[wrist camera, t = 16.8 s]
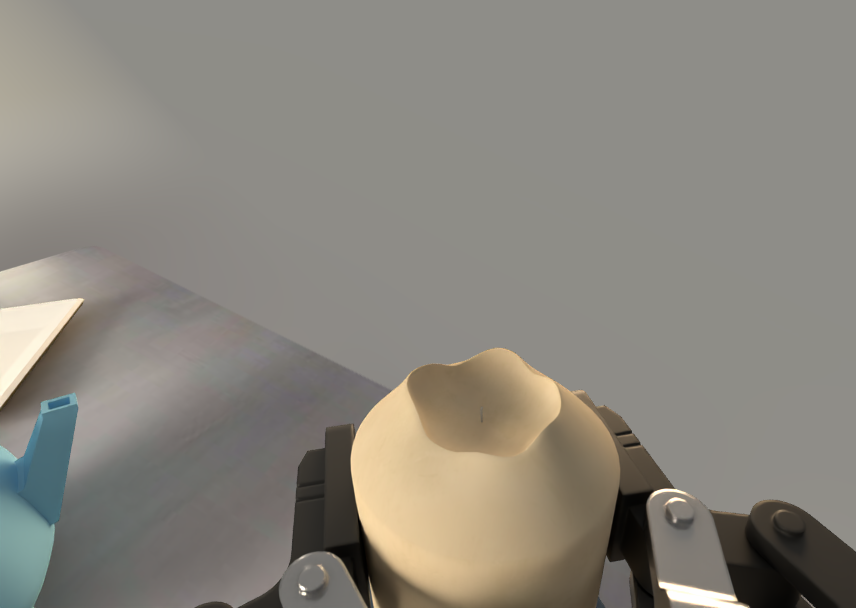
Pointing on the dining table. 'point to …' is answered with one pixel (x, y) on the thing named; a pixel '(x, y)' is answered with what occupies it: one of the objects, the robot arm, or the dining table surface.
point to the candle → (484, 489)
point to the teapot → (33, 502)
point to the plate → (29, 339)
